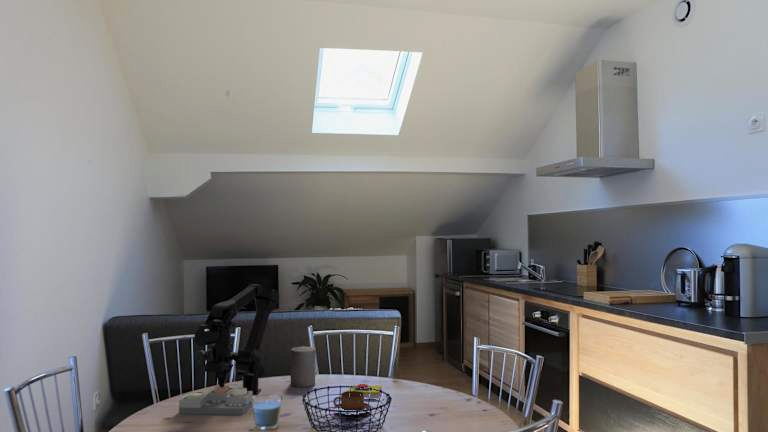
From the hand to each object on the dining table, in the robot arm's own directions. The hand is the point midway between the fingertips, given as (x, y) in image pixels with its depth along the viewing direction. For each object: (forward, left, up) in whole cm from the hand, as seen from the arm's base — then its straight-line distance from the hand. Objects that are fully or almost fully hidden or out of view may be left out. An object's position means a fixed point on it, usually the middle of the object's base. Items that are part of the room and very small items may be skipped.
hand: (221, 386), depth 191 cm
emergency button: (-11, +49, -6) cm, 50 cm away
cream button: (+4, +8, -2) cm, 9 cm away
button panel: (+4, 0, -6) cm, 7 cm away
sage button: (+8, -6, -3) cm, 11 cm away
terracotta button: (0, 0, -3) cm, 3 cm away
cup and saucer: (+8, +46, -6) cm, 47 cm away
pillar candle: (-27, +23, -6) cm, 36 cm away
